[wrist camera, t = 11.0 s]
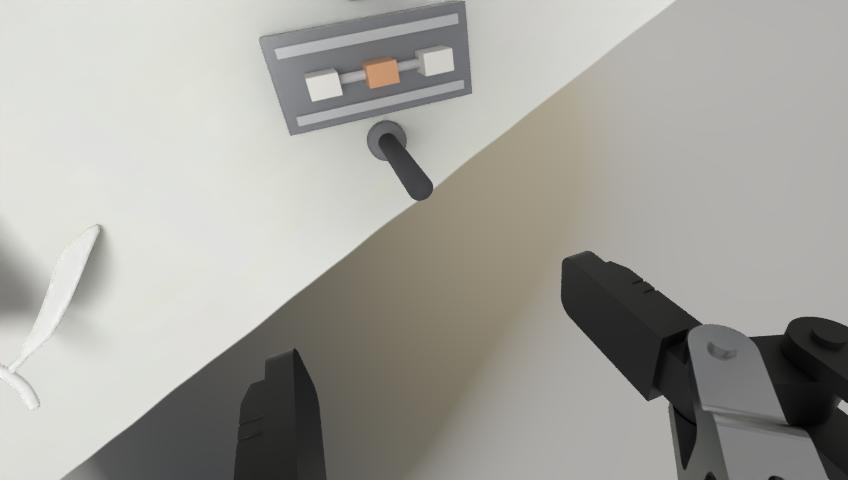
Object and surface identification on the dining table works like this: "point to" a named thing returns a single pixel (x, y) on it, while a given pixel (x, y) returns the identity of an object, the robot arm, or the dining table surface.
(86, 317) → the dining table surface
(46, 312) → the pear ornament
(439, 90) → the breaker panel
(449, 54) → the white and orange bar
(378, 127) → the dark grey lever handle
